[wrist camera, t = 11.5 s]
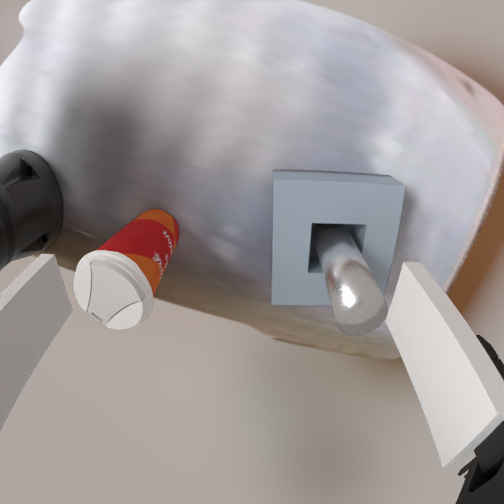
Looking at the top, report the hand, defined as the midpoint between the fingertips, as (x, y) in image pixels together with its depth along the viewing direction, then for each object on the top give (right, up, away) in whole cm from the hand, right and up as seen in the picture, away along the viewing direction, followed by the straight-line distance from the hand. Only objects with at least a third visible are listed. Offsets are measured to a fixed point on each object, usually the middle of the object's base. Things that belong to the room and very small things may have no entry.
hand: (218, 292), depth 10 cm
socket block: (+10, +4, +24) cm, 26 cm away
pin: (+10, +3, +23) cm, 25 cm away
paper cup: (-10, +4, +25) cm, 27 cm away
